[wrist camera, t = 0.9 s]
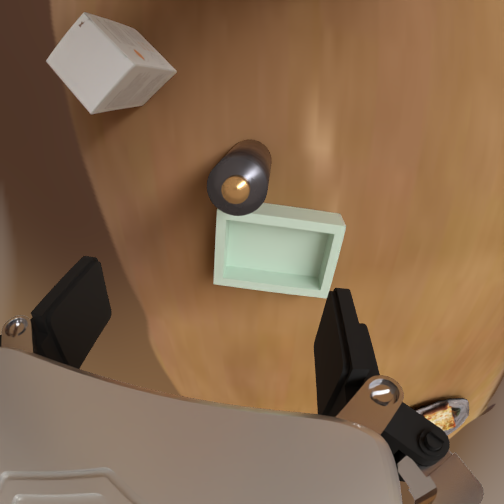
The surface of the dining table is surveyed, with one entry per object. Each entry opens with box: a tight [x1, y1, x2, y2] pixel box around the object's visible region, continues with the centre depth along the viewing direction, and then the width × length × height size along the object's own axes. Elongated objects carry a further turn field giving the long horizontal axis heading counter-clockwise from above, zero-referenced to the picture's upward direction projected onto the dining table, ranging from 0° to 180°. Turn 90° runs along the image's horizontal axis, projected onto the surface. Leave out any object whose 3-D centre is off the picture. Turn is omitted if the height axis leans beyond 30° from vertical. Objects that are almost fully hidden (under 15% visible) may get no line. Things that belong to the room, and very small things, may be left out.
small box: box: [46, 12, 177, 114], centre depth 22 cm, size 8×6×10 cm
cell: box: [207, 140, 271, 216], centre depth 26 cm, size 4×4×11 cm
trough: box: [214, 203, 346, 298], centre depth 34 cm, size 9×13×4 cm
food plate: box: [416, 398, 469, 435], centre depth 53 cm, size 25×23×4 cm
